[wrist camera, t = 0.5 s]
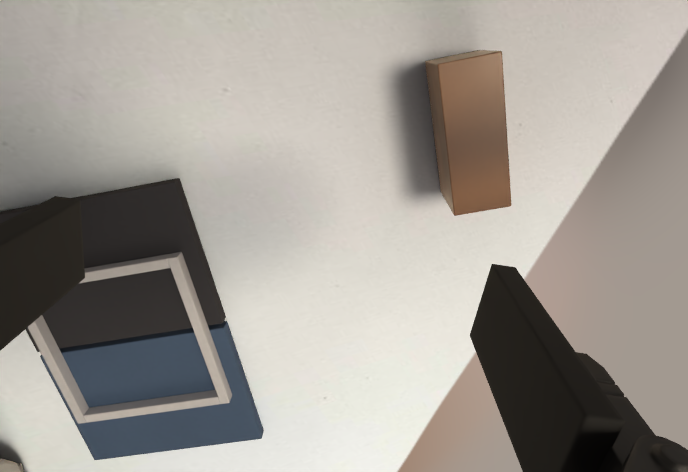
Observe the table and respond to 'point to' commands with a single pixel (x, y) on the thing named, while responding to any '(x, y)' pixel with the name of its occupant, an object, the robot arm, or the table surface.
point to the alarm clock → (10, 466)
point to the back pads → (144, 332)
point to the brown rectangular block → (470, 130)
